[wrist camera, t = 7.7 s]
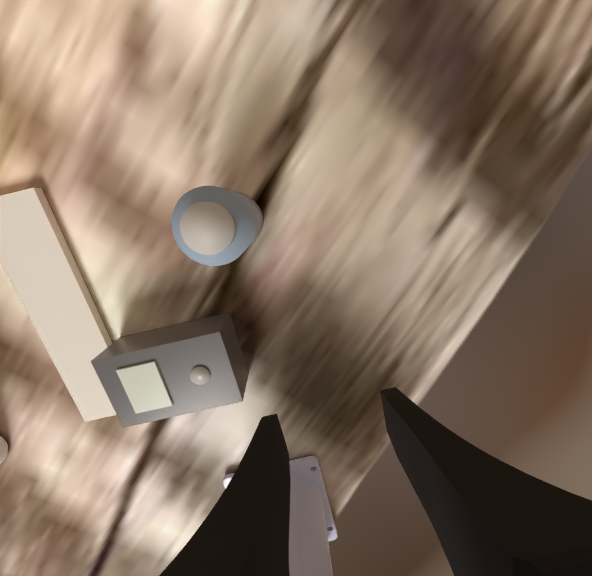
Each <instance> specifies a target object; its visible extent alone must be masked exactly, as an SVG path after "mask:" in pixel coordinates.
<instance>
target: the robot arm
mask: <svg viewBox="0 0 592 576" xmlns="http://www.w3.org/2000/svg"><path fill="white" fill-rule="evenodd" d="M380 393H381V398H382V404H383V410H384V416H385V421H386V427H387V432H388V434H389V437H390V440H391V442H392V445H393V447H394V450H395V452H396V455H397V457H398V459H399V461H400V463H401V464H402V467H403V469H404V471H405V472H406V474H407V476H408V478H409V480H410V482H411V484H412V486H413V488H414V490H415V492H416V493H417V495H418V497H419V499H420V501H421V503H422V505H423V507H424V509H425V511H426V513H427V515H428V517H429V518H430V521H431V523H432V525H433V527H434V529H435V531H436V533H437V536H438V538H439V541H440V543H441V545H442V548H443V550H444V552H445V555H446V557H447V559H448V561H449V564H450V566H451V568H452V571H453V573H454V576H592V501H591V500H588V499H586V498H583V497H581V496H578V495H575V494H572V493H570V492H567V491H565V490H563V489H560V488H558V487H556V486H553V485H551V484H549V483H546V482H544V481H542V480H539V479H537V478H535V477H533V476H531V475H529V474H526V473H524V472H522V471H520V470H518V469H516V468H514V467H512V466H510V465H508V464H506V463H504V462H502V461H500V460H498V459H497V458H495V457H492V456H491V455H489V454H487V453H486V452H484V451H482V450H480V449H479V448H477V447H475V446H474V445H472V444H470V443H469V442H467V441H466V440H464V439H463V438H461V437H459V436H458V435H456V434H455V433H453V432H452V431H451V430H449V429H447V428H446V427H445V426H443V425H442V424H441V423H439V422H438V421H437V420H435V419H434V418H432V417H431V416H430V415H428V414H427V413H426V412H425V411H423V410H422V409H421V408H420V407H418V406H417V405H416V404H415V403H413V402H412V401H411V400H410V399H409V398H407V397H406V396H405V395H404V394H403V393H402V392H401V391H399V390H398V389H397V388H395V387H394V388H389V389H385V390H381V391H380ZM313 466H314V467H313ZM223 484H224V487H225V490H224V492H223V494H222V495H221V497H220V498H219V500H218V501H217V503H216V504H215V506H214V507H213V509H212V510H211V512H210V513H209V515H208V516H207V518H206V519H205V520H204V522H203V523H202V524H201V526H200V527H199V528H198V530H197V531H196V532H195V534H194V535H193V536H192V538H191V539H190V540H189V542H188V543H187V544H186V545H185V547H184V548H183V549H182V550H181V551H180V552H179V554H178V555H177V556H176V557H175V558H174V560H173V561H172V562H171V563H170V564H169V565H168V566H167V568H166V569H165V570H164V571H163V572H162V573H161V574H160V575H159V576H333V574H332V567H331V560H330V552H329V544H328V541H332V540H335V539H336V538H337V530H336V526H335V523H334V519H333V515H332V511H331V508H330V504H329V500H328V496H327V493H326V489H325V485H324V481H323V478H322V474H321V470H320V466H319V463H318V459H317V458H316V457H315V456H308V457H304V458H299V459H294V460H290V461H289V453H288V449H287V446H286V443H285V439H284V436H283V433H282V429H281V426H280V423H279V419H278V416H277V414H274V415H269V416H265V417H262V418H261V420H260V422H259V425H258V427H257V429H256V431H255V434H254V436H253V438H252V440H251V442H250V444H249V447H248V448H247V450H246V452H245V454H244V456H243V458H242V460H241V462H240V464H239V466H238V468H237V470H236V471H235V473H231V474H227V475H225V476H224V479H223Z"/></svg>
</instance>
